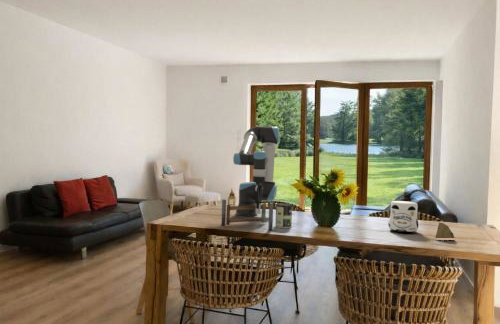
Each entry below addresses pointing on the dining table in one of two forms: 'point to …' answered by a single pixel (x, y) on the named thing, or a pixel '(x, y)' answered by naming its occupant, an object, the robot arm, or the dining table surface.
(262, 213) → the gate leaf
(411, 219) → the milk container
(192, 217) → the dining table surface
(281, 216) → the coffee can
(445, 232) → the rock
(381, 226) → the dining table surface
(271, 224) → the gate posts
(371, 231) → the dining table surface
